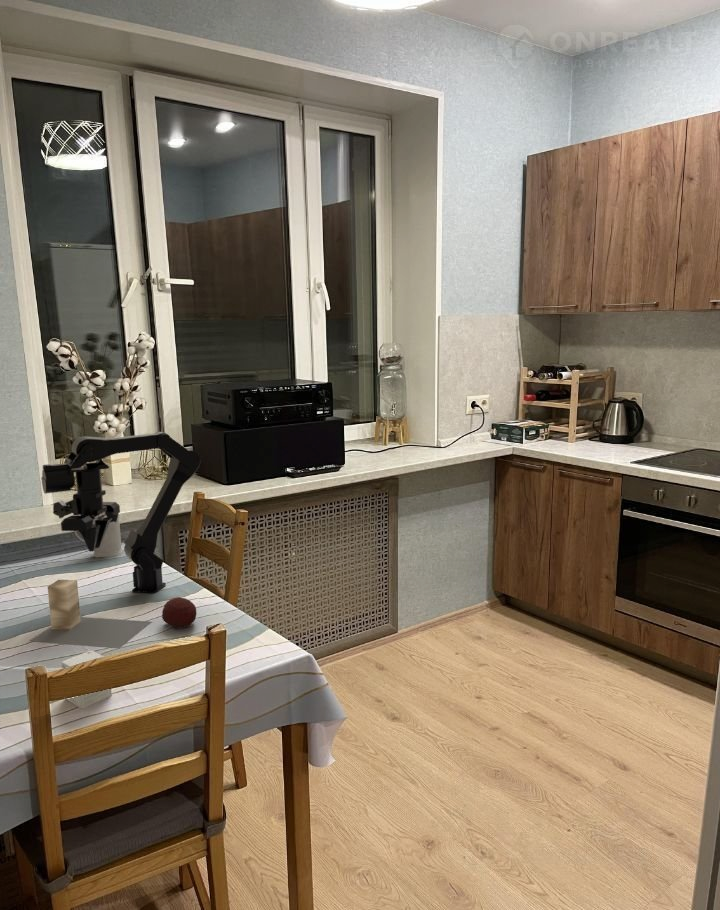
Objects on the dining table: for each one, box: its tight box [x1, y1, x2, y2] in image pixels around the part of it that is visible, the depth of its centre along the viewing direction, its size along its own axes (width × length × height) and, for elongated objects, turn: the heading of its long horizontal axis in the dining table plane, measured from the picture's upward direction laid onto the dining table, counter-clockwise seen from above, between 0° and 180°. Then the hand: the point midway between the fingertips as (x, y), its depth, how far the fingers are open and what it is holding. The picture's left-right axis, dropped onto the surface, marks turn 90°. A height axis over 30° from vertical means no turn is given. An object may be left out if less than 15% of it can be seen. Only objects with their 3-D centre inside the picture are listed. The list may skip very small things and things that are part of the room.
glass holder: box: [73, 512, 124, 558], centre depth 210 cm, size 9×14×15 cm, turn 131°
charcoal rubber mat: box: [29, 616, 152, 649], centre depth 153 cm, size 22×14×1 cm, turn 79°
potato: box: [161, 596, 197, 629], centre depth 156 cm, size 7×10×6 cm
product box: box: [61, 650, 113, 709], centre depth 125 cm, size 6×6×7 cm
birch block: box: [47, 579, 81, 630], centre depth 156 cm, size 4×4×10 cm
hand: (94, 549), depth 172 cm, fingers open, 3 cm apart
